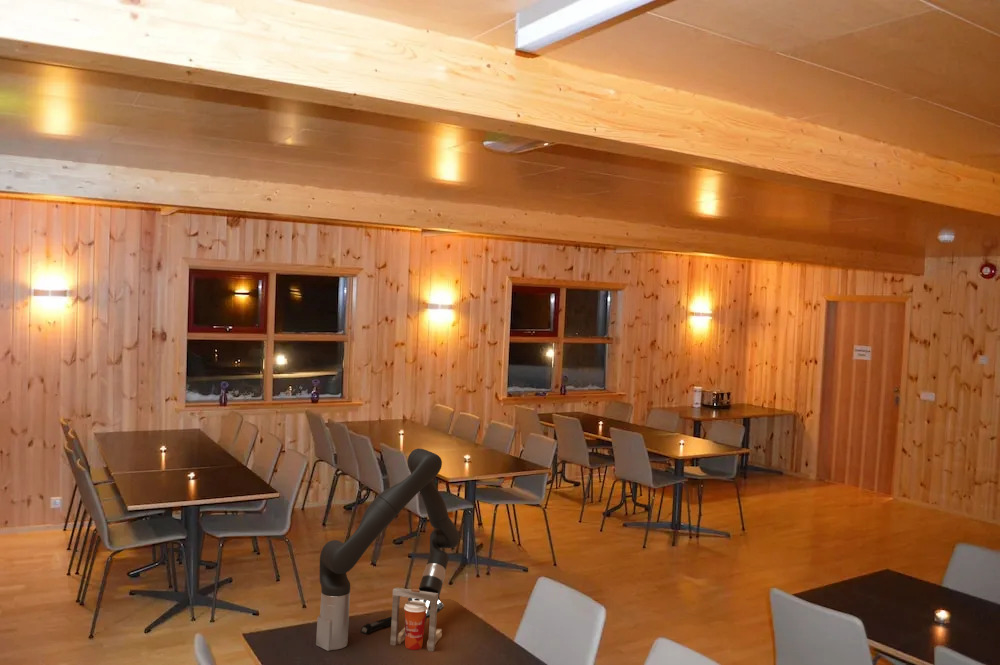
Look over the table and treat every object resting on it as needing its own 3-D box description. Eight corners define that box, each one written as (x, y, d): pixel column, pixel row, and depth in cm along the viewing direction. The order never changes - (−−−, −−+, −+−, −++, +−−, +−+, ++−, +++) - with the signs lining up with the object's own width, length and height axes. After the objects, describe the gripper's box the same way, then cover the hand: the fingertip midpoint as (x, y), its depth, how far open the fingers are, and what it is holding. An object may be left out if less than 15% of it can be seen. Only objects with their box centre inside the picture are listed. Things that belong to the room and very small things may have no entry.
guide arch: (403, 630, 271) (406, 576, 271) (445, 637, 267) (448, 581, 267) (389, 645, 258) (392, 587, 258) (432, 652, 255) (435, 593, 255)
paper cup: (398, 648, 256) (400, 605, 256) (407, 640, 263) (409, 598, 263) (420, 653, 254) (422, 609, 253) (429, 644, 261) (431, 601, 261)
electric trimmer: (400, 624, 277) (401, 615, 277) (366, 636, 265) (367, 626, 265) (393, 621, 280) (394, 612, 280) (359, 632, 268) (360, 623, 268)
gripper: (412, 572, 274) (397, 620, 262) (448, 577, 270) (435, 625, 259) (416, 582, 279) (402, 629, 267) (452, 587, 276) (439, 635, 264)
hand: (418, 627), depth 263 cm, fingers closed
